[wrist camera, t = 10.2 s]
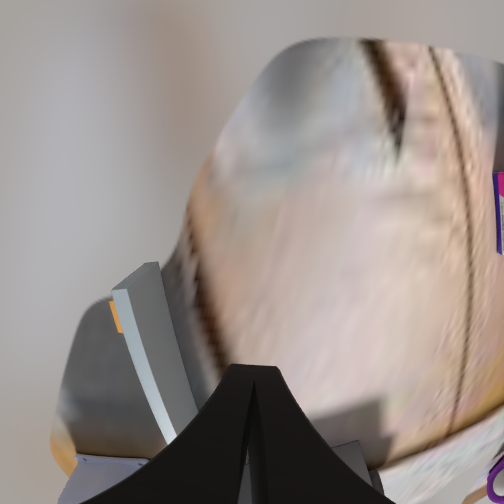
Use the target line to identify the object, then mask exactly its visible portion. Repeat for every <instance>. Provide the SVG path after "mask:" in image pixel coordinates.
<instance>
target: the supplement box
mask: <svg viewBox="0 0 504 504" xmlns="http://www.w3.org/2000/svg"><path fill="white" fill-rule="evenodd" d="M493 183H494V191H495V203H496V218H497V253H498V254H501V255H503V256H504V170H503V171H496V172H494V173H493Z"/></svg>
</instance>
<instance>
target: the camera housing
mask: <svg viewBox="0 0 504 504" xmlns="http://www.w3.org/2000/svg"><path fill="white" fill-rule="evenodd" d="M331 449H332V450H333V451H334V452H335V453H336V454H337V455H338V456H339V457H340V458H341V459H342V460H343V461H344V462H345V463H346V464H347V465H348V466H349V467H350V468H351V469H352V470H353V471H354V472H355V473H357V474H358V475H359V476H360V477H361V478H362V479H363V480H364V481H366V482H367V483H368V484H369V485H371V486H372V487H373V488H375V489H376V490H377V491H379V492H380V493H382V494H383V495H384V490H383V486H382V482H381V479H380V476H379V473H378V471H377V470H376V469H374V470H371V471H368V470H367V466H366V463H365V460H364V457H363V454H362V451H361V448H360V445H359V442H358V441H355V442H351V443H348V444H344V445H341V446H337V447H334V448H331ZM384 496H385V495H384ZM238 504H252V499H251V485H250V470H249V464H247V465H245V466H244V472H243V478H242V483H241V489H240V494H239V500H238Z"/></svg>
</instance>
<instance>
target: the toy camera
mask: <svg viewBox="0 0 504 504" xmlns="http://www.w3.org/2000/svg"><path fill="white" fill-rule="evenodd" d="M487 494H488V497H489V499H490V500H491V501H492V502H494V503H498V504H504V458H503V459H502V460H501V461H500V462H499V463H498V465H497V466H496V467H495V468H494V469H493V470H492V471H491V473H490V474H489V476H488V478H487Z"/></svg>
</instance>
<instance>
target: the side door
mask: <svg viewBox="0 0 504 504" xmlns="http://www.w3.org/2000/svg"><path fill="white" fill-rule="evenodd" d="M111 293H112V297H113V299H111V300H110V301H109V303H110V307H111V310H112V314H113V317H114V320H115V323H116V327H117V330H118V333H123V334H124V337H125V340H126V343H127V346H128V349H129V352H130V355H131V358H132V361H133V363H134V366H135V369H136V372H137V374H138V377H139V379H140V382H141V385H142V387H143V390H144V392H145V395H146V397H147V400H148V402H149V404H150V407H151V409H152V412H153V414H154V416H155V418H156V421H157V423H158V425H159V427H160V429H161V432H162V434H163V436H164V438H165V440H166V442H167V444H168V445H169V444H170V443H171V442H172V441H173V440H174V439H175V438H176V437H177V436H178V435H179V434H180V433H181V432H182V431H183V430H184V429H185V427H186V426H187V425H188V424H189V423H190V422H191V421H192V419H193V418H194V417H195V416H196V415H197V414H198V410H197V407H196V404H195V401H194V398H193V394H192V391H191V388H190V385H189V381H188V378H187V375H186V371H185V368H184V365H183V361H182V358H181V354H180V350H179V347H178V343H177V339H176V335H175V332H174V328H173V324H172V320H171V316H170V312H169V308H168V303H167V299H166V295H165V291H164V286H163V282H162V277H161V272H160V268H159V263H158V262H150V263H145V264H143V265H142V266H141V267H139V268H138V269H137V270H136V271H134V272H133V273H132V274H131V275H129V276H128V277H127V278H125V279H124V280H123V281H122V282H121V283H119V284H118V285H117V286H116V287H114V288H113V289H112V290H111Z"/></svg>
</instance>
